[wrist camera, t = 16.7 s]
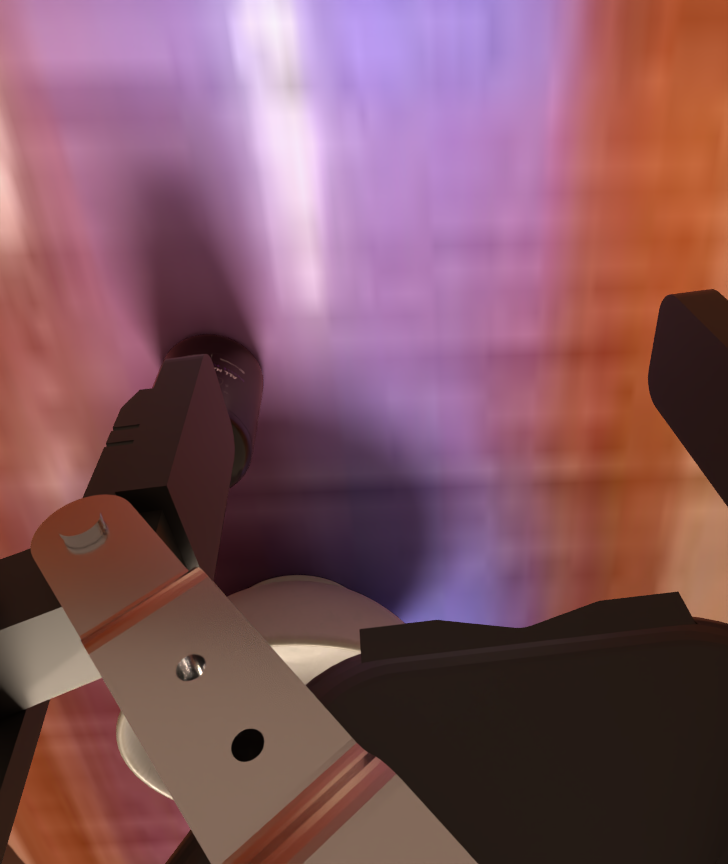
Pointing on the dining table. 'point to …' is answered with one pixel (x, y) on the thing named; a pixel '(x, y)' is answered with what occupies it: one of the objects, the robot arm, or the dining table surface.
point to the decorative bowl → (286, 639)
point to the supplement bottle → (231, 389)
